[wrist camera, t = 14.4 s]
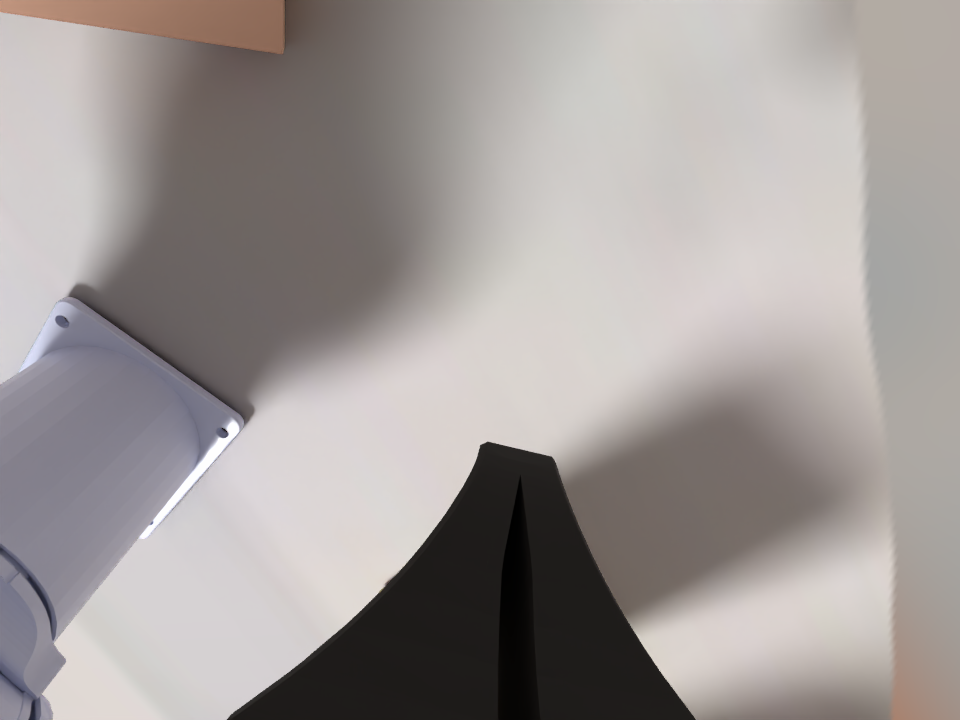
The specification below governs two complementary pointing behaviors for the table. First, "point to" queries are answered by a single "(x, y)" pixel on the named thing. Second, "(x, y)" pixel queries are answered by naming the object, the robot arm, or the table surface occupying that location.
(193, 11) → the terracotta tile
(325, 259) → the table surface
